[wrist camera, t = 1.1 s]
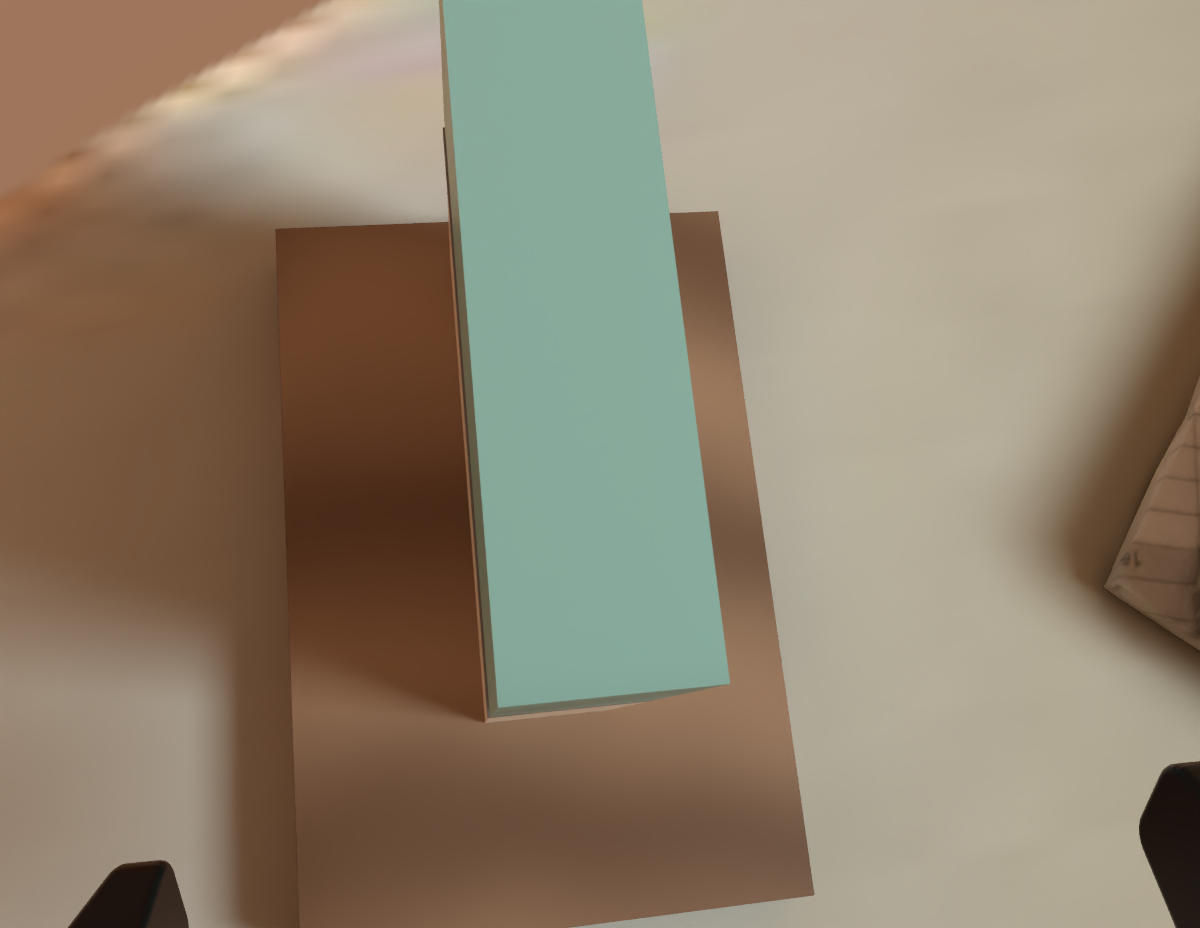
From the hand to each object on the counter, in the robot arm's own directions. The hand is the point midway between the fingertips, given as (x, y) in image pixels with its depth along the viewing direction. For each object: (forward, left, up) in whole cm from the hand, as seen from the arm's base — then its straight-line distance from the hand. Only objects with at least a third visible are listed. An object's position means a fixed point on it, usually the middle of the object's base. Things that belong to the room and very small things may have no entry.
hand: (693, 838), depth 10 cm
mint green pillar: (+6, +3, -6) cm, 9 cm away
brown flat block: (+4, +2, -14) cm, 15 cm away
